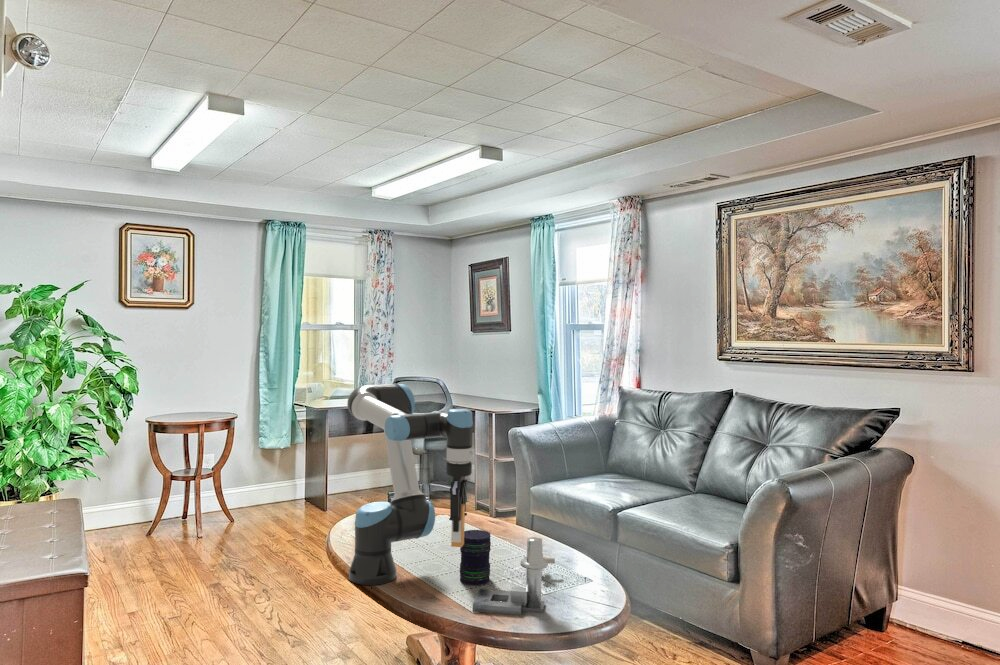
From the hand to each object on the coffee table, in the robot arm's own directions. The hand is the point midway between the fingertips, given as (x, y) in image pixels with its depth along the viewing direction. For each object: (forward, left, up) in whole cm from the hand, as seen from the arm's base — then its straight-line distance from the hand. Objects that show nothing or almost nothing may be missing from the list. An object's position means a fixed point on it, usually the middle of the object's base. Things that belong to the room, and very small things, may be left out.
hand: (457, 539), depth 208 cm
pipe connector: (+22, +27, -19) cm, 39 cm away
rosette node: (+17, 0, -18) cm, 25 cm away
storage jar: (+2, +18, -19) cm, 26 cm away
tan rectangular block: (0, 0, -2) cm, 2 cm away
